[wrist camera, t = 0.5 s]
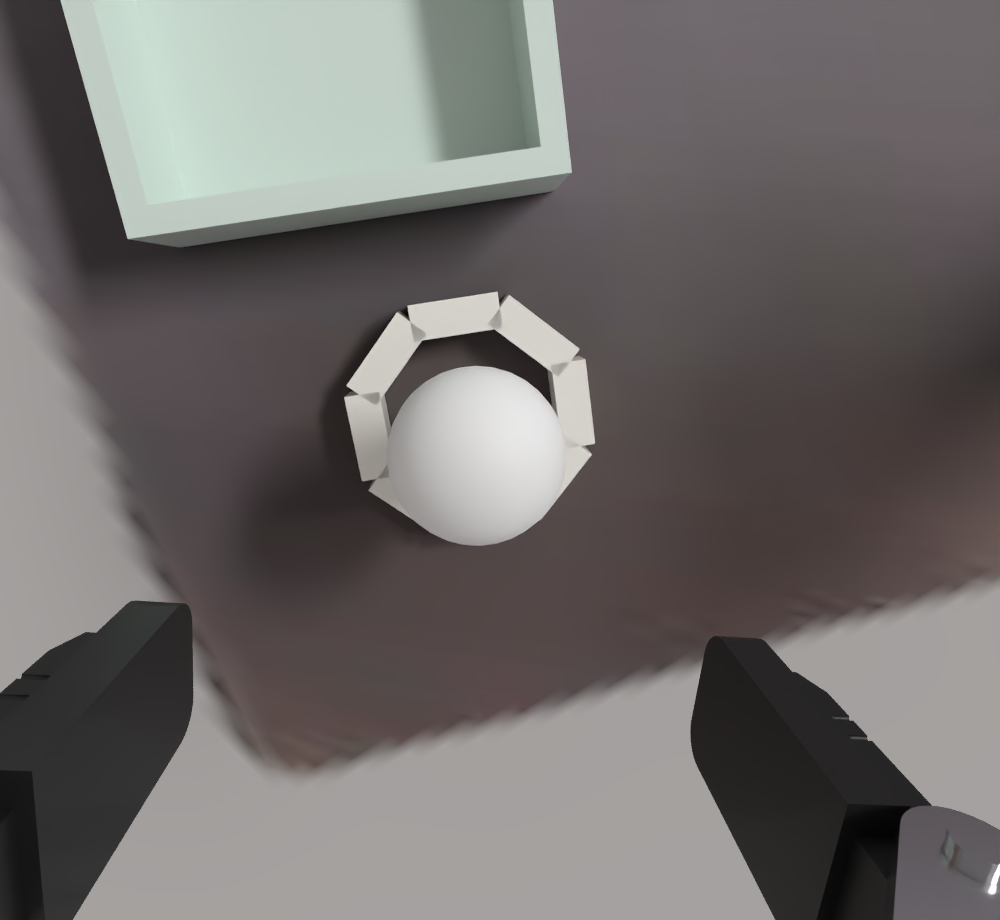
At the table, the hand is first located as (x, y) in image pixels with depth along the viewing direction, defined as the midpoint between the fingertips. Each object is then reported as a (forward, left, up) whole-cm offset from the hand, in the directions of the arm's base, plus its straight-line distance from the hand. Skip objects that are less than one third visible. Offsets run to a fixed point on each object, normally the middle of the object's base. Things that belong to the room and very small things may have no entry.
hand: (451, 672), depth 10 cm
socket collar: (-1, 0, -21) cm, 21 cm away
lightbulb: (-1, 0, -21) cm, 21 cm away
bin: (+2, -17, -21) cm, 27 cm away
